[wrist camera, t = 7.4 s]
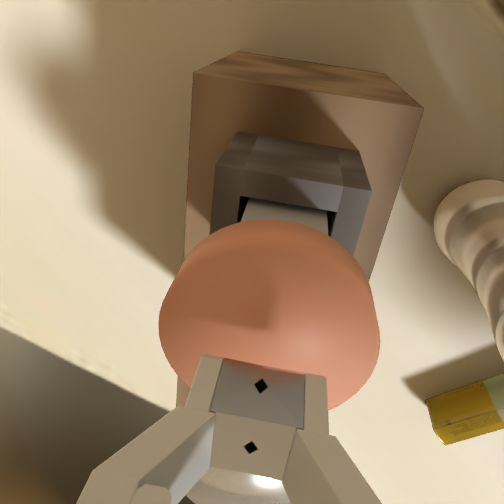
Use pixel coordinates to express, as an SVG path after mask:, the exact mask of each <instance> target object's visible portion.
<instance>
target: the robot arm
mask: <svg viewBox="0 0 504 504" xmlns="http://www.w3.org/2000/svg"><path fill="white" fill-rule="evenodd" d="M209 467H215V468H221V469H227V470H233V471H238V472H244V473H249V474H253V475H258V476H262V477H266V478H271V479H275V480H279V481H282V484H283V487H284V489H285V491H286V493H287V496H288V498H289V500H290V503H291V504H382V503H381V502H380V500H379V499H378V497H377V496H376V495H375V493H374V492H373V490H372V489H371V487H370V486H369V484H368V483H367V482H366V480H365V479H364V477H363V476H362V474H361V473H360V471H359V470H358V468H357V467H356V466H355V464H354V463H353V461H352V460H351V458H350V457H349V455H348V454H347V452H346V451H345V450H344V448H343V447H342V445H341V444H340V442H339V441H338V439H337V438H336V437H335V436H331V435H329V421H328V395H327V379H326V377H325V376H320V375H314V374H309V373H303V372H297V371H291V370H286V369H280V368H274V367H269V366H262V365H257V364H252V363H248V362H243V361H238V360H234V359H229V358H222V357H217V356H213V355H208V354H203V355H202V357H201V358H200V361H199V364H198V367H197V371H196V374H195V377H194V380H193V383H192V386H191V389H190V392H189V395H188V398H187V401H186V404H185V407H182V406H177V407H176V408H175V409H173V410H172V411H171V412H169V413H168V414H167V415H165V416H164V417H163V418H162V419H160V420H159V421H158V422H156V423H155V424H154V425H152V426H151V427H150V428H148V429H147V430H146V431H144V432H143V433H142V434H140V435H139V436H138V437H137V438H135V439H134V440H132V441H131V442H130V443H128V444H127V445H126V446H125V447H123V448H122V449H121V450H119V451H118V452H116V453H115V454H114V455H112V456H111V457H110V458H109V459H107V460H106V461H105V462H103V463H102V464H101V465H99V466H98V467H97V468H95V469H94V470H93V471H92V473H91V475H90V477H89V479H88V481H87V483H86V485H85V487H84V489H83V491H82V493H81V495H80V497H79V499H78V501H77V503H76V504H178V502H179V501H180V500H181V499H182V498H183V497H184V496H185V495H186V494H187V493H188V492H189V490H190V489H191V488H192V487H193V486H194V485H195V484H196V483H197V482H198V481H199V479H200V478H201V477H202V476H203V475H204V474H205V473H206V472H207V471H208V470H209Z"/></svg>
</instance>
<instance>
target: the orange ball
mask: <svg viewBox="0 0 504 504" xmlns="http://www.w3.org/2000/svg"><path fill="white" fill-rule="evenodd" d="M159 337H160V341H161V345H162V348H163V351H164V353H165V356H166V358H167V360H168V361H169V363H170V365H171V367H172V368H173V369H174V371H175V372H176V374H177V375H178V376H179V377H180V378H181V379H182V380H183V381H184V382H185V384H186V385H188V386H189V387H190V388H191V386H192V383H193V380H194V377H195V374H196V371H197V367H198V364H199V361H200V358H201V357H202V355H203V354H208V355H213V356H217V357H222V358H229V359H234V360H238V361H243V362H248V363H252V364H257V365H262V366H269V367H274V368H280V369H286V370H291V371H297V372H303V373H309V374H314V375H320V376H325V377H326V379H327V395H328V410H330V409H333V408H335V407H337V406H339V405H340V404H342V403H344V402H345V401H347V400H348V399H350V398H351V397H352V396H353V395H354V394H356V393H357V392H358V391H359V390H360V389H361V388H362V387H363V386H364V384H365V383H366V382H367V380H368V379H369V377H370V376H371V374H372V372H373V370H374V368H375V366H376V363H377V359H378V356H379V349H380V334H379V327H378V322H377V317H376V312H375V307H374V302H373V297H372V293H371V289H370V285H369V282H368V280H367V277H366V275H365V273H364V271H363V269H362V268H361V266H360V265H359V263H358V262H357V260H356V259H355V258H354V257H353V256H352V254H351V253H350V252H349V251H348V250H347V249H345V248H344V247H343V246H342V245H341V244H340V243H338V242H337V241H335V240H334V239H333V238H331V237H330V236H328V222H327V210H322V209H316V208H310V207H304V206H298V205H292V204H287V203H281V202H275V201H269V200H263V199H257V198H251V197H249V200H248V203H247V205H246V208H245V211H244V214H243V217H242V219H241V222H240V223H236V224H232V225H229V226H227V227H224V228H222V229H219V230H218V231H216V232H214V233H212V234H211V235H209V236H207V237H206V238H205V239H203V240H202V241H201V242H200V243H198V244H197V245H196V246H195V248H194V249H193V250H192V251H191V252H190V253H189V255H188V256H187V258H186V259H185V260H184V262H183V264H182V266H181V268H180V270H179V271H178V273H177V275H176V277H175V279H174V281H173V283H172V285H171V287H170V288H169V290H168V292H167V294H166V297H165V299H164V301H163V303H162V307H161V310H160V315H159Z"/></svg>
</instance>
